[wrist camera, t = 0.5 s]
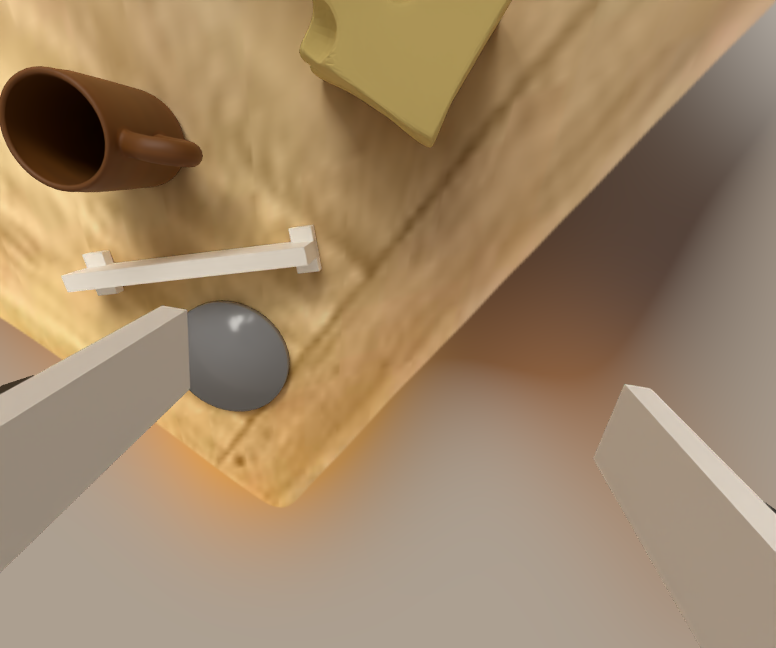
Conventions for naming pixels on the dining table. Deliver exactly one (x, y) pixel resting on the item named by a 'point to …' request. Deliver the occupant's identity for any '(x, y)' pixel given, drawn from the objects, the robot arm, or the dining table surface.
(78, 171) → the mug
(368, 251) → the dining table surface
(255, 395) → the disc
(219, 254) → the rail
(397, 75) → the cheese
